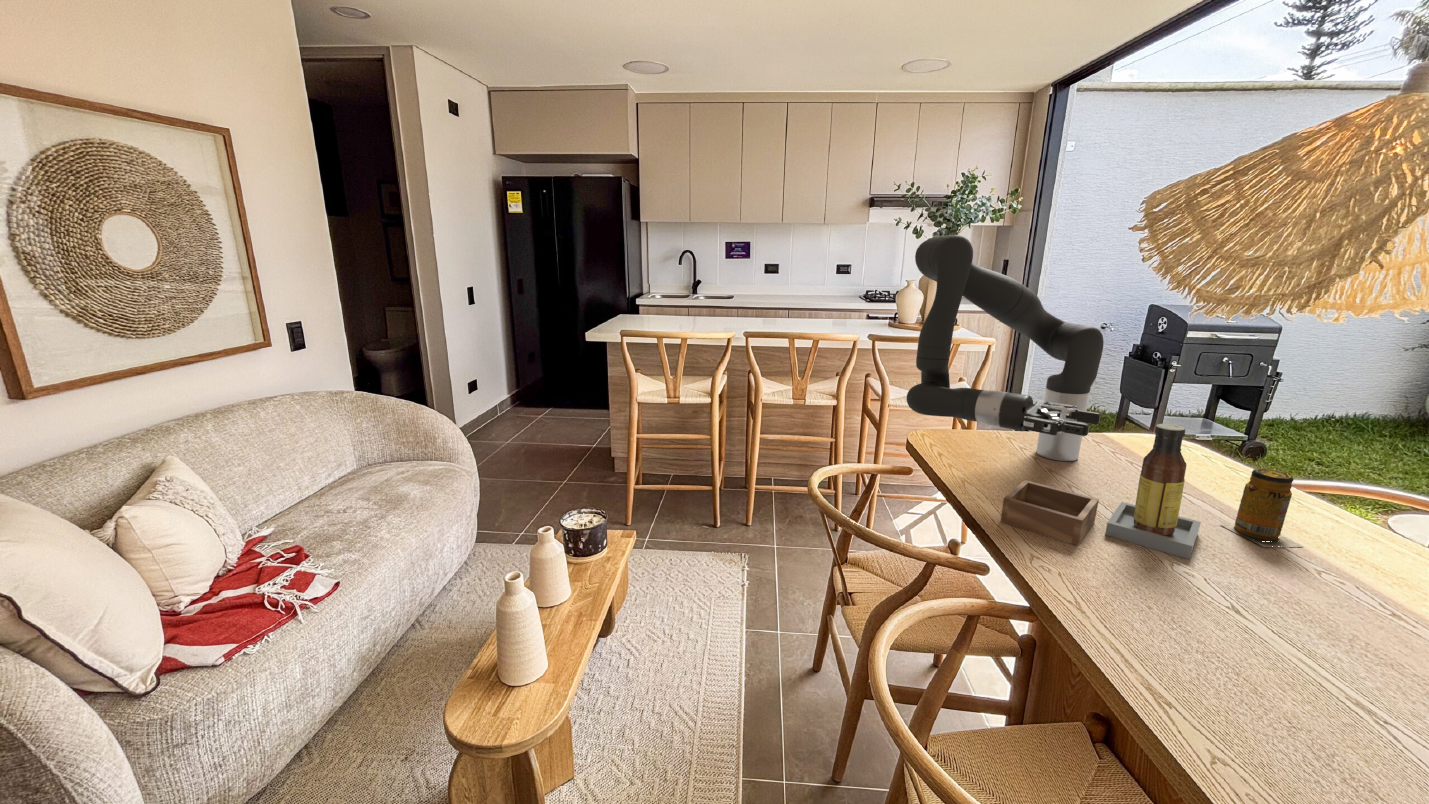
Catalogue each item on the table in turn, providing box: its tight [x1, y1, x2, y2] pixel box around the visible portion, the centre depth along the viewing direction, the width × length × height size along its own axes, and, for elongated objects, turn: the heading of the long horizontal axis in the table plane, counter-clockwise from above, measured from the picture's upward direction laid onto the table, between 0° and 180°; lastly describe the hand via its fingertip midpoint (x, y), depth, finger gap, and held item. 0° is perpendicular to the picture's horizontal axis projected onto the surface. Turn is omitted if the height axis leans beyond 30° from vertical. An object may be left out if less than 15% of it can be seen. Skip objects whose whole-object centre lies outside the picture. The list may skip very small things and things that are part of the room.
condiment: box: [1219, 468, 1304, 549], centre depth 99 cm, size 7×8×12 cm
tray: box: [1104, 501, 1202, 560], centre depth 101 cm, size 12×12×2 cm
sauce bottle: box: [1134, 423, 1187, 536], centre depth 98 cm, size 6×6×20 cm
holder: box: [1000, 479, 1100, 547], centre depth 105 cm, size 12×13×5 cm
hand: (1094, 424), depth 104 cm, fingers open, 8 cm apart
